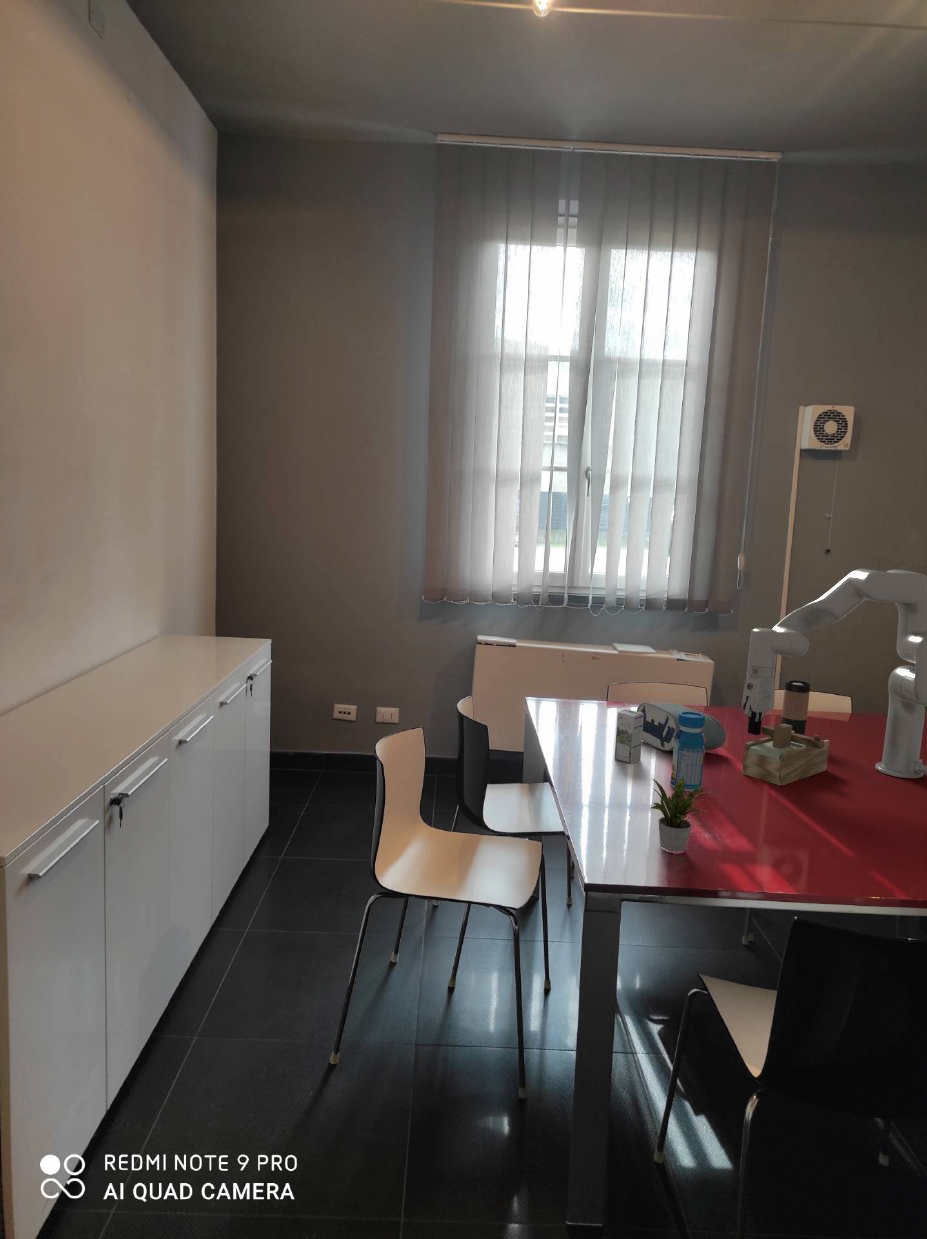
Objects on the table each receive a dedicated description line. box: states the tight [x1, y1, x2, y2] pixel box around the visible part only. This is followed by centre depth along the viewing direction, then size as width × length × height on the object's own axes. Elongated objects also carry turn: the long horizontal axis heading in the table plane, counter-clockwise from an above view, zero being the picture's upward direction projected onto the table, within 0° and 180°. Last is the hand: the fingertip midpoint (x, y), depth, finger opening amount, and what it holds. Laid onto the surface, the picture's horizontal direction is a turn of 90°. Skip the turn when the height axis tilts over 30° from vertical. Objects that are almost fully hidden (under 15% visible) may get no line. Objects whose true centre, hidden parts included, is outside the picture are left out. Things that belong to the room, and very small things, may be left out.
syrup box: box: [613, 708, 644, 765], centre depth 249 cm, size 6×6×14 cm
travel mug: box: [780, 679, 811, 736], centre depth 276 cm, size 8×8×20 cm
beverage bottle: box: [669, 712, 706, 792], centre depth 228 cm, size 8×8×20 cm
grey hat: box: [636, 702, 727, 752], centre depth 267 cm, size 22×19×13 cm
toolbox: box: [741, 731, 830, 786], centre depth 246 cm, size 12×25×9 cm, turn 130°
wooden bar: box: [761, 725, 825, 749], centre depth 246 cm, size 18×2×3 cm, turn 40°
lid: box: [749, 723, 806, 760], centre depth 243 cm, size 9×18×7 cm, turn 130°
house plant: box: [649, 777, 713, 851], centre depth 185 cm, size 14×14×16 cm
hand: (753, 733), depth 247 cm, fingers closed
